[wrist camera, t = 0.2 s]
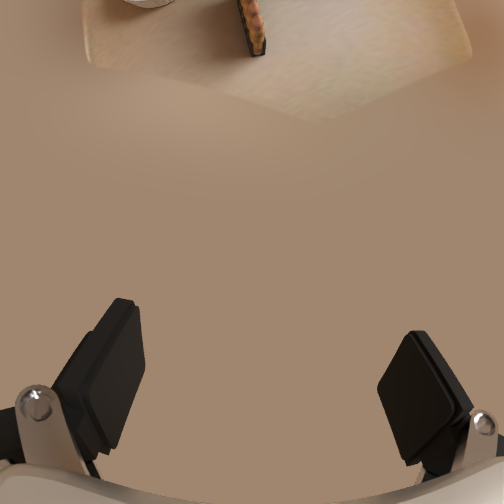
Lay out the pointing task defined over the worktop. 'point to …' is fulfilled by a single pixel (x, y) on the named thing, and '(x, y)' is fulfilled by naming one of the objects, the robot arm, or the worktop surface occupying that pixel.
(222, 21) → the worktop surface
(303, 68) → the worktop surface
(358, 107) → the worktop surface
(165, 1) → the ramekin
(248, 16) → the ammunition clip
